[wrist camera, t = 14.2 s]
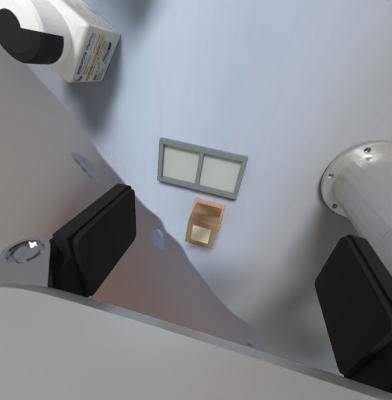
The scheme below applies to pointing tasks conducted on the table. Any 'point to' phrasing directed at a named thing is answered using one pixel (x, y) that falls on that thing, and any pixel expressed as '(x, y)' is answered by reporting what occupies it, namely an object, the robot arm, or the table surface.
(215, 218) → the brown labeled box
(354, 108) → the table surface
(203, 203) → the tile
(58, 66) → the container
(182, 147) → the cubby strip
